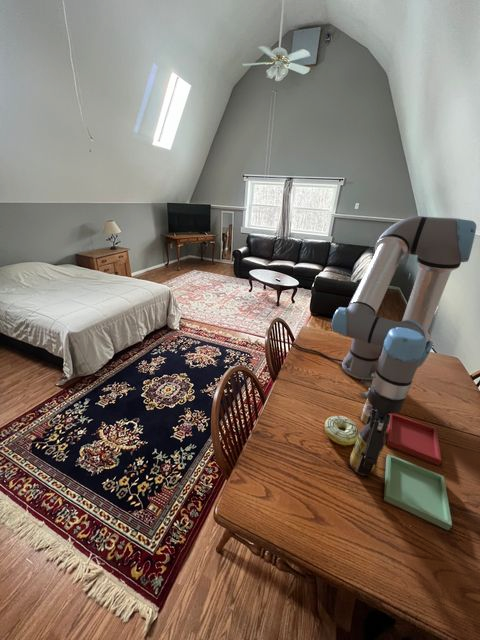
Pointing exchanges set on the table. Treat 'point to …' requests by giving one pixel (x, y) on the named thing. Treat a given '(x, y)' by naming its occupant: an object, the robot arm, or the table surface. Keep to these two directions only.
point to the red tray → (414, 438)
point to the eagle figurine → (366, 383)
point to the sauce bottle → (363, 447)
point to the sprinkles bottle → (366, 411)
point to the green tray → (417, 491)
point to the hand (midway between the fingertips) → (366, 452)
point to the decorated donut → (340, 436)
